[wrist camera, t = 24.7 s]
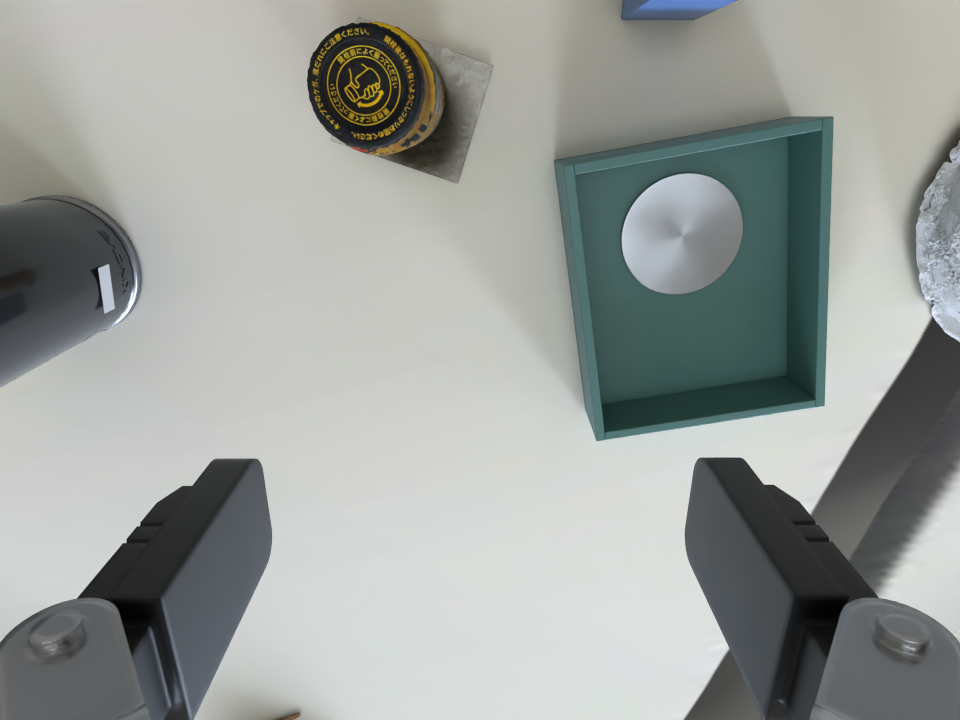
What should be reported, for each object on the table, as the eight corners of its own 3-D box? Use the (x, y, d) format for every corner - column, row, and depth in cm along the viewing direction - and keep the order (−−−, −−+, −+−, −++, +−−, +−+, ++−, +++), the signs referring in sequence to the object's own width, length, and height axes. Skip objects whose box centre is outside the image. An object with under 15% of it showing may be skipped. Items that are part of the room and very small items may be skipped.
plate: (625, 302, 43) (626, 303, 42) (614, 184, 40) (615, 185, 39) (742, 282, 42) (744, 284, 42) (739, 161, 39) (742, 162, 39)
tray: (585, 410, 46) (596, 441, 42) (554, 160, 40) (563, 165, 35) (791, 377, 45) (824, 406, 41) (793, 116, 39) (834, 116, 34)
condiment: (358, 17, 37) (305, -26, 26) (493, 66, 38) (498, 44, 27) (331, 140, 39) (272, 149, 28) (457, 183, 40) (449, 208, 29)
